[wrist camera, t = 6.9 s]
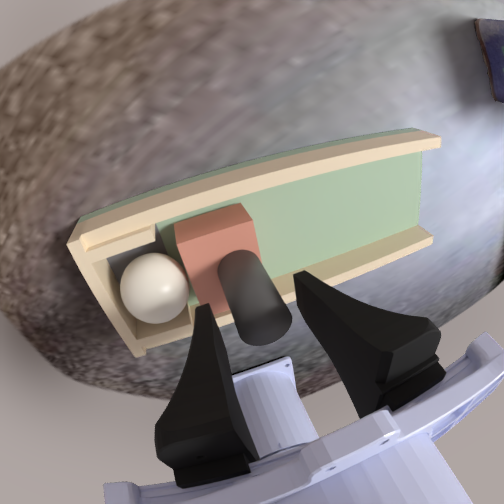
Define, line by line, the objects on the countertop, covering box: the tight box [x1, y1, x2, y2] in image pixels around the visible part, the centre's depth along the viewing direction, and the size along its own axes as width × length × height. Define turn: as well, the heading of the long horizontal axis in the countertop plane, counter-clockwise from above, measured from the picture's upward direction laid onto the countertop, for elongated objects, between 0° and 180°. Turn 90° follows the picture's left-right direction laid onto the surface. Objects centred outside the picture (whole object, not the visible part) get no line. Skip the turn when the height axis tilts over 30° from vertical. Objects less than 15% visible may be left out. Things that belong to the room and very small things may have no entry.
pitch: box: [66, 128, 441, 358], centre depth 19 cm, size 9×24×4 cm, turn 101°
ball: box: [120, 253, 189, 324], centre depth 17 cm, size 4×4×4 cm
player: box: [174, 203, 292, 346], centre depth 16 cm, size 5×4×7 cm
